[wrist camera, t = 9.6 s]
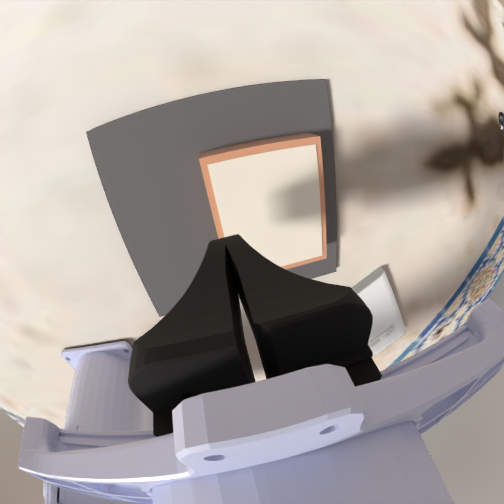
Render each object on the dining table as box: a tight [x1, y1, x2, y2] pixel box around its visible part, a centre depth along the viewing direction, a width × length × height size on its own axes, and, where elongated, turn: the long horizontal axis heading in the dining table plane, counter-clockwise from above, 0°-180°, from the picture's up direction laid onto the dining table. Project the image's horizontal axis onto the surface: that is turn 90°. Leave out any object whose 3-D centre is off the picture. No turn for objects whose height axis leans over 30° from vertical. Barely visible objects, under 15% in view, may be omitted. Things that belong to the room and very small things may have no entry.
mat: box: [86, 79, 337, 316], centre depth 16 cm, size 14×14×1 cm
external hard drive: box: [352, 266, 406, 358], centre depth 26 cm, size 2×8×12 cm
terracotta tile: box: [198, 133, 327, 269], centre depth 16 cm, size 8×2×6 cm
